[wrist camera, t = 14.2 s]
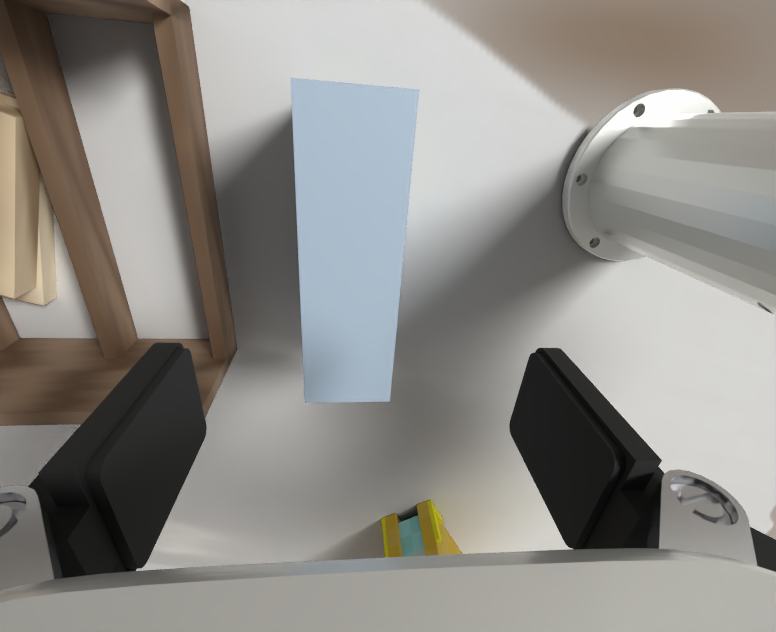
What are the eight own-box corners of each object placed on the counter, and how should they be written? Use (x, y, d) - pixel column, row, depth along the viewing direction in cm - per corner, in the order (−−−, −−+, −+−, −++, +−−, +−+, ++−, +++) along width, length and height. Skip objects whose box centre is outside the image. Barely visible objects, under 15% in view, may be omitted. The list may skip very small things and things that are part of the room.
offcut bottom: (54, 105, 24) (31, 104, 22) (61, 294, 30) (43, 305, 28) (-20, 80, 23) (-51, 77, 21) (2, 280, 29) (-20, 291, 27)
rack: (188, 6, 22) (100, -58, 14) (237, 349, 33) (203, 421, 25) (-170, -33, 20) (-519, -137, 12) (11, 348, 31) (-105, 427, 23)
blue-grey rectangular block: (388, 102, 25) (419, 89, 15) (375, 310, 33) (390, 401, 22) (313, 96, 25) (290, 78, 14) (317, 309, 32) (304, 402, 21)
